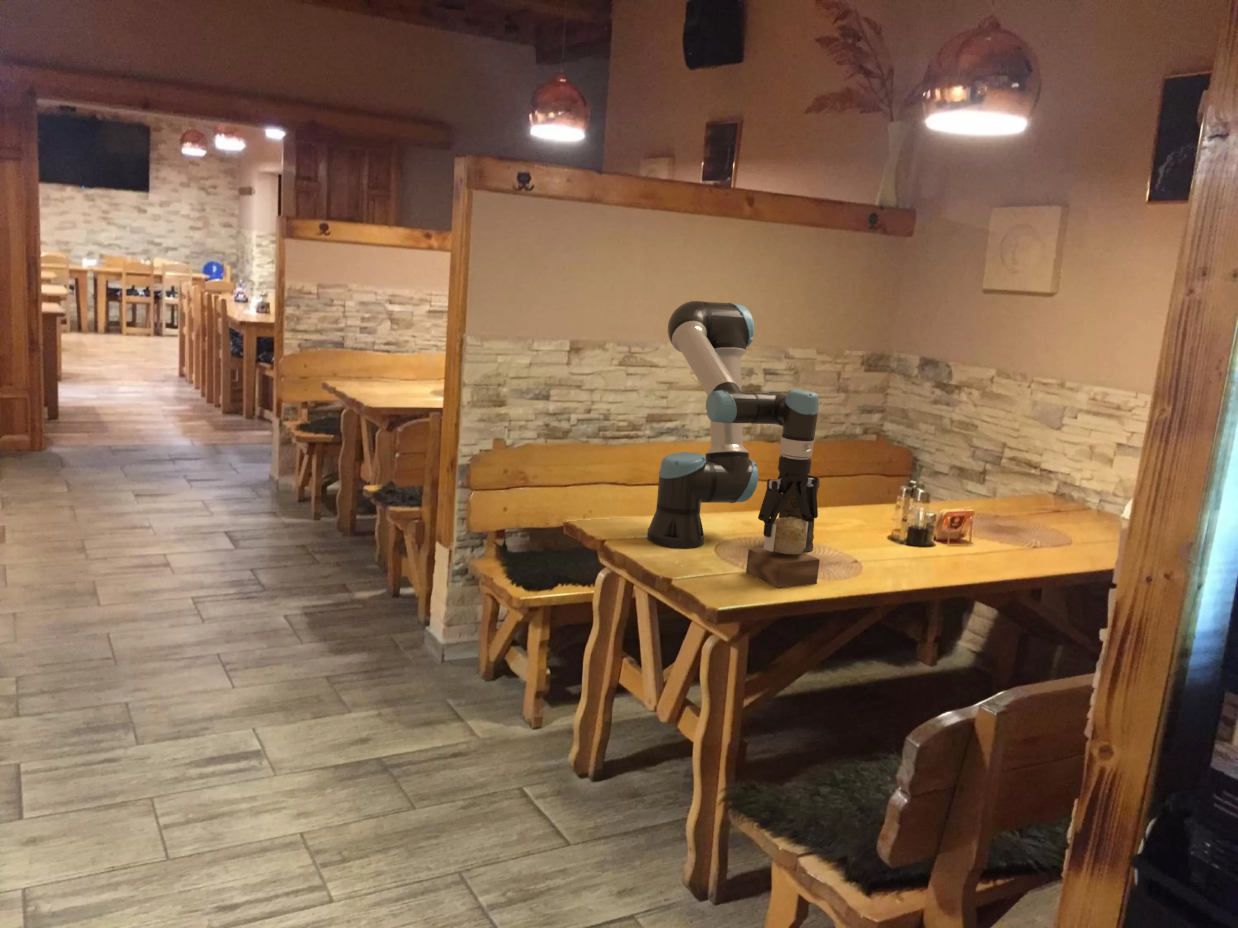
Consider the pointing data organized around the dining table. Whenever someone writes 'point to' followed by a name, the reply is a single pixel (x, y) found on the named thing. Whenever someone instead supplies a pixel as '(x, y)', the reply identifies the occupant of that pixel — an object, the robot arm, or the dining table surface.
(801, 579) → the walnut block
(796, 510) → the beer stein
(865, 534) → the dining table surface
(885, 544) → the dining table surface
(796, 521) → the brown cratered rock
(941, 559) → the dining table surface
